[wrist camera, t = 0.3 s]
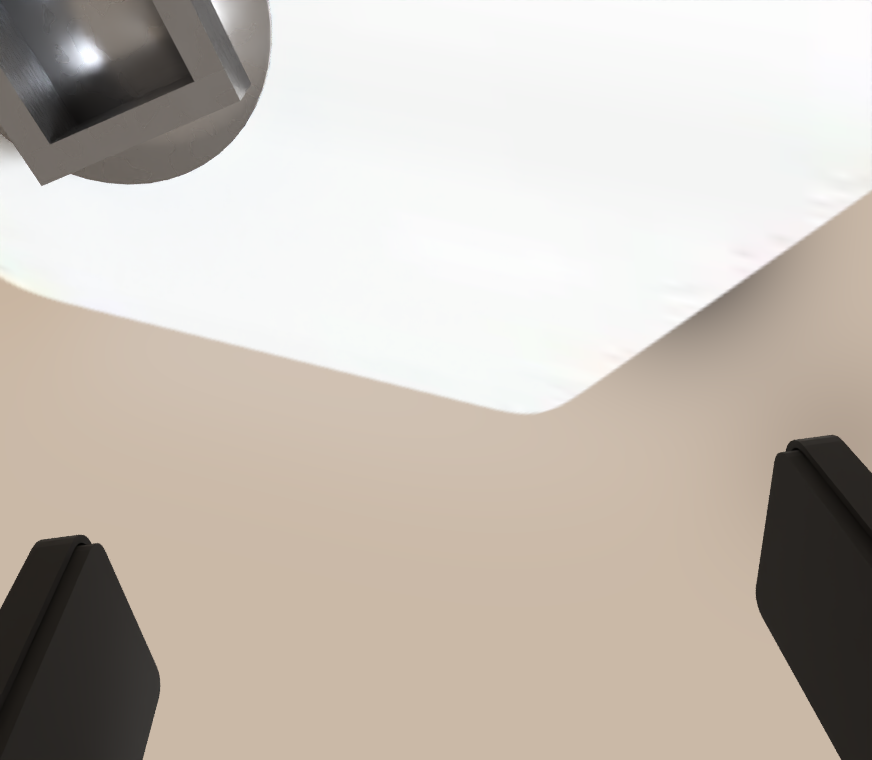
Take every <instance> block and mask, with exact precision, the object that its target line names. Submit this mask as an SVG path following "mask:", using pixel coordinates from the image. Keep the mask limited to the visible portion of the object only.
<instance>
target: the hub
mask: <svg viewBox="0 0 872 760" xmlns="http://www.w3.org/2000/svg"><path fill="white" fill-rule="evenodd" d="M271 46H272V20H271V13H270V5H269V0H0V133H1V134H2V135H3V136H4V137H6V138H7V139H8V140H10V141H11V142H12V143H13V144H14V145H15V147H16V148H17V150H18V151H19V153H20V154H21V156H22V157H23V159H24V160H25V162H26V163H27V165H28V166H29V168H30V169H31V171H32V172H33V174H34V175H35V177H36V178H37V180H38V181H39V183H40V184H41V186H43V185H45V184H48V183H50V182H52V181H55V180H57V179H59V178H62V177H64V176H66V175H69V174H73V175H76V176H79V177H82V178H86V179H90V180H95V181H100V182H106V183H115V184H145V183H153V182H158V181H163V180H168V179H171V178H174V177H177V176H180V175H183V174H186V173H188V172H190V171H192V170H194V169H196V168H198V167H200V166H202V165H204V164H205V163H207V162H208V161H210V160H211V159H212V158H214V157H215V156H217V155H218V154H219V153H220V152H221V151H223V150H224V149H225V148H226V147H227V146H228V145H229V144H230V143H231V142H232V141H233V140H234V139H235V137H236V136H237V135H238V134H239V132H240V131H241V130H242V128H243V127H244V126H245V124H246V123H247V121H248V119H249V117H250V116H251V114H252V112H253V110H254V109H255V107H256V105H257V103H258V100H259V98H260V95H261V93H262V90H263V88H264V85H265V81H266V77H267V73H268V69H269V64H270V55H271Z"/></svg>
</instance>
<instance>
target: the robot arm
mask: <svg viewBox="0 0 872 760" xmlns="http://www.w3.org/2000/svg"><path fill="white" fill-rule="evenodd" d="M756 600H757V604H758V608H759V611H760V613H761V615H762V617H763V619H764V621H765V623H766V625H767V627H768V628H769V630H770V632H771V634H772V636H773V637H774V639H775V641H776V643H777V645H778V646H779V648H780V650H781V652H782V654H783V655H784V657H785V659H786V661H787V663H788V664H789V666H790V668H791V670H792V672H793V673H794V675H795V677H796V679H797V680H798V682H799V684H800V686H801V688H802V690H803V691H804V693H805V695H806V697H807V699H808V701H809V702H810V704H811V706H812V708H813V709H814V711H815V713H816V715H817V717H818V718H819V720H820V722H821V724H822V726H823V728H824V729H825V731H826V733H827V735H828V736H829V738H830V740H831V742H832V744H833V746H834V747H835V749H836V751H837V753H838V754H839V756H840V758H841V760H872V473H871V472H870V471H869V470H868V469H867V467H866V466H865V465H864V464H863V463H862V462H861V461H860V460H859V458H858V457H857V456H856V455H855V454H854V453H853V452H852V451H851V450H850V448H849V447H848V446H847V445H846V444H845V443H844V442H843V441H842V440H841V439H840V438H839V437H838V436H835V435H828V436H820V437H813V438H805V439H798V440H793V441H791V442H790V443H789V444H788V445H787V448H786V452H781V453H778V454H777V456H776V458H775V461H774V468H773V475H772V482H771V489H770V495H769V503H768V510H767V516H766V523H765V530H764V536H763V543H762V550H761V557H760V564H759V570H758V577H757V584H756ZM159 694H160V677H159V672H158V669H157V666H156V664H155V662H154V660H153V657H152V655H151V653H150V650H149V648H148V646H147V644H146V641H145V639H144V637H143V635H142V633H141V630H140V628H139V626H138V624H137V621H136V619H135V617H134V615H133V612H132V610H131V608H130V606H129V603H128V601H127V599H126V597H125V594H124V592H123V590H122V588H121V586H120V583H119V581H118V579H117V576H116V574H115V572H114V570H113V567H112V565H111V563H110V561H109V559H108V556H107V554H106V552H105V550H104V548H103V547H102V545H100V544H99V543H95V544H91V542H90V540H89V539H88V538H87V537H86V536H84V535H74V536H66V537H59V538H51V539H44V540H40V541H38V542H36V544H35V545H34V547H33V548H32V549H31V551H30V553H29V555H28V557H27V559H26V561H25V563H24V565H23V567H22V569H21V570H20V572H19V574H18V576H17V578H16V580H15V582H14V584H13V586H12V588H11V590H10V592H9V593H8V595H7V597H6V599H5V601H4V603H3V605H2V607H1V609H0V760H143V756H144V752H145V748H146V744H147V741H148V737H149V733H150V729H151V725H152V721H153V717H154V714H155V710H156V706H157V703H158V699H159Z"/></svg>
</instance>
